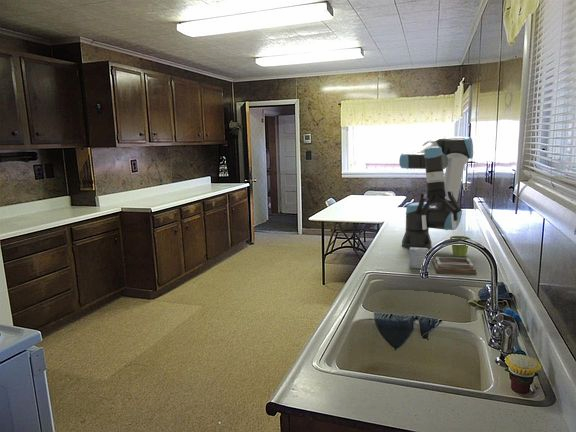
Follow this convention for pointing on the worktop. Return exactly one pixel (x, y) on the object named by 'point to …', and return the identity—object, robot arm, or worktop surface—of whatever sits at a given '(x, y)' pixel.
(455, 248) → the plant pot
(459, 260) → the walnut stand
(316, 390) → the worktop surface
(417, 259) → the medicine box
